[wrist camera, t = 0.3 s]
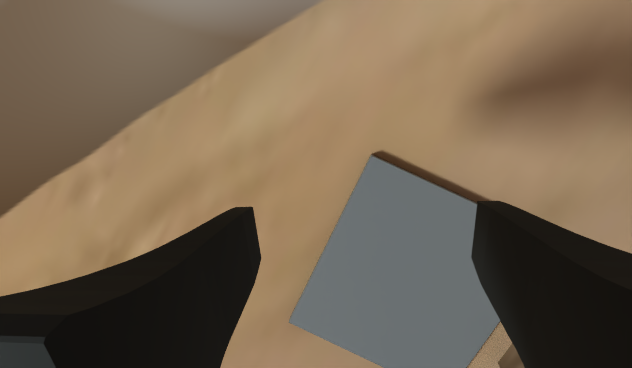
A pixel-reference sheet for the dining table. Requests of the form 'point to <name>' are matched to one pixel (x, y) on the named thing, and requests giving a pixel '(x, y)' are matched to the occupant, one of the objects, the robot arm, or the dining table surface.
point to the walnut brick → (511, 359)
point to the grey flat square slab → (400, 275)
